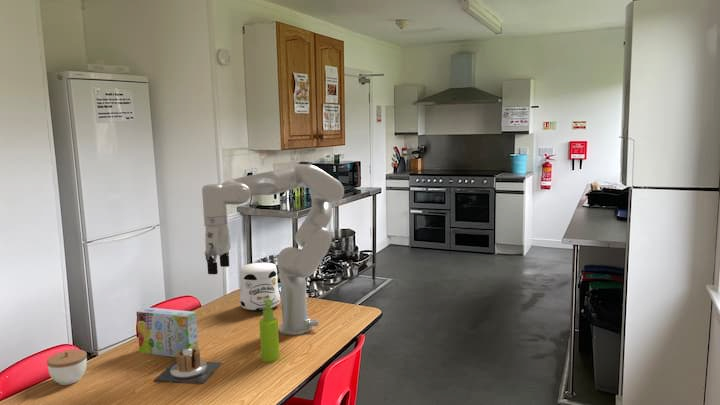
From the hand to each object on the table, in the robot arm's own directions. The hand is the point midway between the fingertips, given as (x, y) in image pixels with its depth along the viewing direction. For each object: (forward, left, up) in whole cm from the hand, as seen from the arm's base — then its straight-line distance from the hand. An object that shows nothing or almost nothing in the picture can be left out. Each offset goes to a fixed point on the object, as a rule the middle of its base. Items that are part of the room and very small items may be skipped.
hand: (219, 270), depth 178 cm
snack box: (+18, +5, -29) cm, 34 cm away
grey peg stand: (+4, +18, -28) cm, 34 cm away
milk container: (+2, -43, -28) cm, 52 cm away
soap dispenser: (-19, +6, -28) cm, 35 cm away
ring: (+4, +18, -27) cm, 32 cm away
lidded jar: (+39, +27, -28) cm, 55 cm away
